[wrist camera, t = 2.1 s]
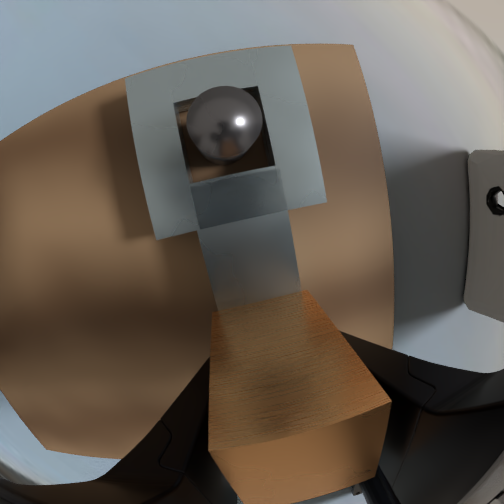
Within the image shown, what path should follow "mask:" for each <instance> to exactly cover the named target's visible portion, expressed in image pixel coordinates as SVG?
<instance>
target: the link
mask: <svg viewBox="0 0 504 504" xmlns="http://www.w3.org/2000/svg"><path fill="white" fill-rule="evenodd" d="M125 84H126V92H127V100H128V107H129V114H130V120H131V126H132V132H133V138H134V144H135V149H136V154H137V160H138V165H139V169H140V174H141V179H142V184H143V188H144V193H145V197H146V201H147V205H148V210H149V214H150V218H151V222H152V225H153V229H154V233H155V237H156V240H160V239H164V238H168V237H172V236H176V235H180V234H184V233H188V232H192V231H196V230H197V233H198V237H199V241H200V245H201V249H202V253H203V257H204V260H205V264H206V268H207V272H208V276H209V279H210V283H211V287H212V290H213V294H214V298H215V301H216V305H217V308H218V311H215V312H212V327H211V350H210V380H209V453H210V454H211V456H212V458H213V459H214V461H215V462H216V464H217V466H218V467H219V469H220V470H221V472H222V473H223V475H224V476H225V478H226V479H227V481H228V482H229V484H230V485H231V487H232V488H233V490H234V491H235V492H236V494H237V495H238V497H239V498H240V499H241V501H242V502H243V503H244V504H291V503H296V502H300V501H304V500H308V499H312V498H315V497H319V496H322V495H326V494H329V493H332V492H335V491H338V490H341V489H344V488H347V487H350V486H353V485H355V484H358V483H360V482H363V481H366V480H368V479H371V478H373V477H375V474H376V470H377V467H378V463H379V459H380V456H381V452H382V448H383V443H384V439H385V434H386V430H387V425H388V420H389V414H390V409H391V403H392V401H391V399H390V398H389V397H388V395H387V394H386V392H385V391H384V390H383V388H382V387H381V386H380V384H379V383H378V382H377V380H376V379H375V378H374V376H373V375H372V374H371V372H370V371H369V370H368V368H367V367H366V366H365V364H364V363H363V362H362V360H361V359H360V358H359V356H358V355H357V354H356V352H355V351H354V350H353V348H352V347H351V346H350V344H349V343H348V342H347V340H346V339H345V338H344V337H343V335H342V334H341V333H340V331H339V330H338V329H337V327H336V326H335V325H334V323H333V322H332V321H331V320H330V318H329V317H328V316H327V314H326V313H325V312H324V311H323V309H322V308H321V307H320V305H319V304H318V303H317V301H316V300H315V299H314V298H313V296H312V295H311V294H310V293H309V291H308V290H304V291H301V285H300V278H299V272H298V266H297V260H296V254H295V248H294V242H293V236H292V231H291V225H290V220H289V214H288V210H291V209H296V208H301V207H306V206H311V205H316V204H321V203H326V202H327V199H326V193H325V187H324V181H323V176H322V170H321V165H320V160H319V155H318V150H317V145H316V140H315V136H314V131H313V127H312V122H311V118H310V114H309V110H308V105H307V101H306V97H305V93H304V90H303V86H302V82H301V78H300V75H299V71H298V67H297V64H296V60H295V57H294V54H293V50H292V47H291V45H289V46H274V47H263V48H253V49H245V50H238V51H231V52H225V53H219V54H213V55H208V56H203V57H198V58H194V59H189V60H185V61H181V62H177V63H173V64H169V65H166V66H162V67H159V68H155V69H152V70H148V71H145V72H142V73H139V74H136V75H133V76H130V77H127V78H125ZM217 86H233V87H237V88H240V89H242V90H244V91H246V92H247V93H249V94H250V95H251V96H252V97H254V99H255V100H256V102H257V103H258V105H259V107H260V109H261V113H262V128H261V132H262V137H263V141H264V146H265V151H266V155H267V160H268V165H269V167H265V168H260V169H255V170H250V171H245V172H240V173H235V174H230V175H226V176H221V177H217V178H213V179H208V180H204V181H200V182H196V183H193V179H192V175H191V170H190V165H189V161H188V156H187V151H186V146H185V141H184V136H183V131H182V126H181V121H180V116H179V112H182V111H185V110H189V108H190V106H191V104H192V102H193V101H194V100H195V99H196V98H197V97H198V96H199V95H200V94H201V93H203V92H204V91H206V90H208V89H211V88H213V87H217Z"/></svg>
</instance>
